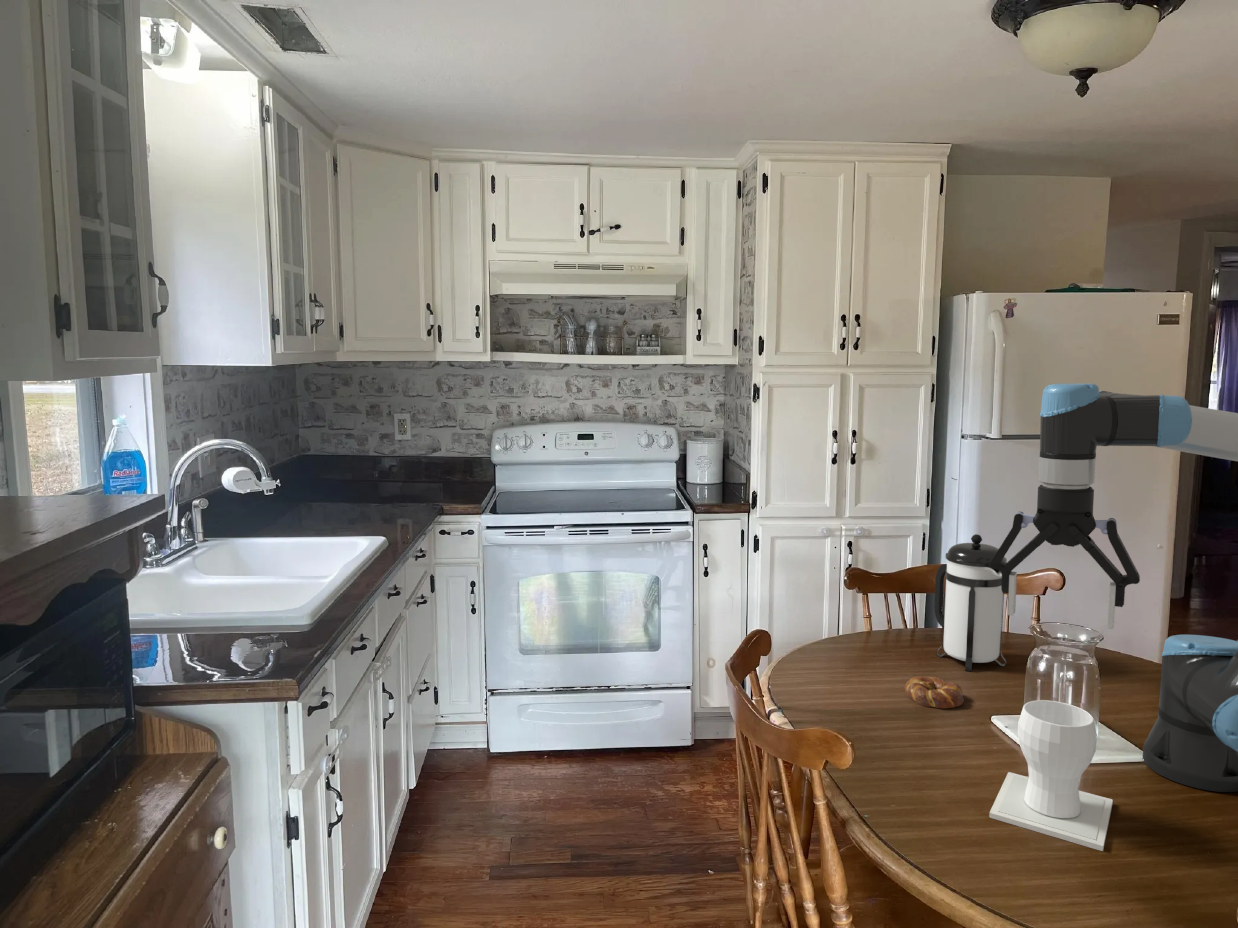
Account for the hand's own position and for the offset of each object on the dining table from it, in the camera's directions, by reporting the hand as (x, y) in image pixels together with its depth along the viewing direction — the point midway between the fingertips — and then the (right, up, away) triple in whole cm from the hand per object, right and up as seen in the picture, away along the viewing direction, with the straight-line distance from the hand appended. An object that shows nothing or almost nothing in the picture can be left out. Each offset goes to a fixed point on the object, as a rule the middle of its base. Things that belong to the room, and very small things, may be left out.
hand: (1059, 619), depth 125 cm
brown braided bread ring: (-4, -25, +41) cm, 48 cm away
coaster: (-2, -30, -1) cm, 30 cm away
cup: (-2, -29, -1) cm, 29 cm away
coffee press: (+12, -22, +63) cm, 67 cm away
